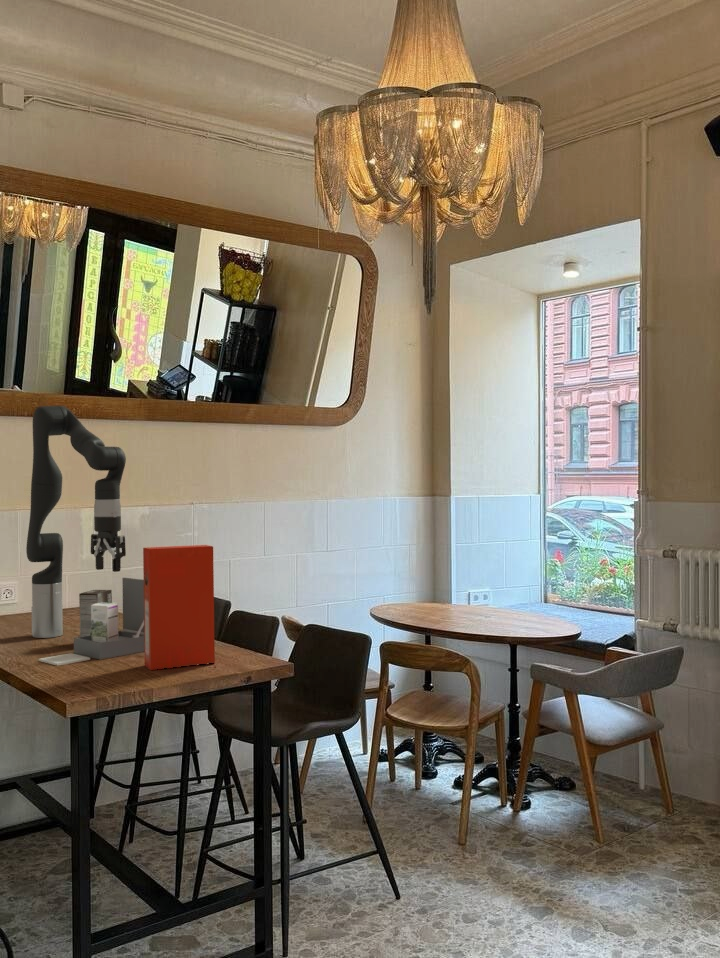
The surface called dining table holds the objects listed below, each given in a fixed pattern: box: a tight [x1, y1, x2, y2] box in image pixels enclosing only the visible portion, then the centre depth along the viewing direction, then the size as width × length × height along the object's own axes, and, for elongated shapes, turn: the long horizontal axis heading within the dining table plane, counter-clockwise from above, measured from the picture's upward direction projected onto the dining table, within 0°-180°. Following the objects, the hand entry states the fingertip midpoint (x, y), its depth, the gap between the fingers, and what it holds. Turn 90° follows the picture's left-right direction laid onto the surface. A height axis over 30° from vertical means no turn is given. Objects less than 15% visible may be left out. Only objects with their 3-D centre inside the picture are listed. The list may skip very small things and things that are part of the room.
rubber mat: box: [38, 652, 91, 666], centre depth 248 cm, size 10×10×1 cm
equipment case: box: [73, 577, 145, 661], centre depth 260 cm, size 14×17×20 cm
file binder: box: [142, 544, 216, 671], centre depth 241 cm, size 8×17×32 cm, turn 116°
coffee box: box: [78, 589, 113, 637], centre depth 274 cm, size 9×6×16 cm
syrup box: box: [91, 602, 119, 643], centre depth 258 cm, size 6×6×14 cm
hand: (108, 570), depth 259 cm, fingers open, 8 cm apart
